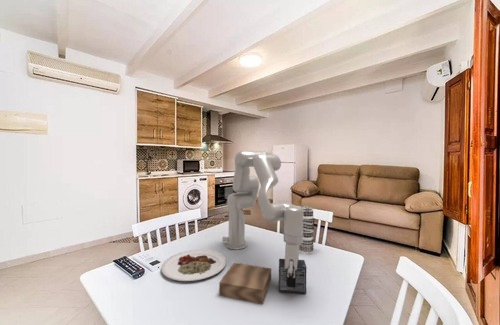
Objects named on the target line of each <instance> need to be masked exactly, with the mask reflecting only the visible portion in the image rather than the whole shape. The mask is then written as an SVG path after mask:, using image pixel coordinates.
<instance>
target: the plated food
mask: <svg viewBox="0 0 500 325" xmlns="http://www.w3.org/2000/svg"><path fill="white" fill-rule="evenodd" d="M226 264H227V259H226V257H225V256H224V254H222V253H221V252H218V251H215V250H211V249H190V250H186V251H182V252H179V253H176V254H174V255H171V256H170V257H168V258H167V259H166V260H164V262H163V263H162V265H161V268H160V271H161V273H162V275H164V276H165V277H167V278H168V279H171V280H174V281H179V282H191V281H192V282H194V281H200V280H203V279H204V280H205V279H208V278H211V277H213V276H215V275H216V274H219V272H221V271H222V270H223V269H224V268H225V267H226V266H227V265H226Z"/></svg>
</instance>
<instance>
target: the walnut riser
mask: <svg viewBox="0 0 500 325" xmlns="http://www.w3.org/2000/svg"><path fill="white" fill-rule="evenodd" d="M271 281H272V268H270V267H265V266H257V265H251V264H244V263H237V262H233V263H232V264H231V266H230V268H229V269H228V270H227V272H226V273H225V274H224V276H223V277H221V280H220V281H219V284H218V285H219V286H218V287H219V288H218V289H219V290H218V291H219V292H218V294H219V296H222V297H227V298H232V299H237V300H241V301H246V302H251V303H256V304H262V305H263V304H264V301H265V298H266V296H267V294H268V290H269V287H270V283H271Z"/></svg>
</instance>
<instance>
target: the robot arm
mask: <svg viewBox="0 0 500 325" xmlns="http://www.w3.org/2000/svg"><path fill="white" fill-rule="evenodd" d="M234 167H235V169H234V174H233V180H232V190H233V191H234V192H232V193H231V194H229V195H228V196H227V200H226V202H227V209H228V236H223V237H222V242H226V243H225V247H226V248H228V249H230V250H236V251H237V250H242V249H245V248H246V247H248V243H247V241H246V240H245V236H246V235H245V234H246V233H245V227H246V226H245V224H246V219H245V218H246V216H245V214H244V212H243V210H242V209H246V208H253V207H254V206H255V205H256V201H257V204H258V206H259V209H260V212H261V215H262V217H263V219H264V220H265V221H267V222H268V223H273V222H281V221H283V242H284V243H285V250H284V259H285V265H284V268H285V269H287V268H288V276H287V286H288V287H293V288H295V284H296V277H295V270H297V266H298V260H300V252H299V244H302V243H303V209H302V208H301V207H302V206H298V205H294V204H293V203H291V202H289V201H281V202H279V201H278V202H270V199H269V197H268V191H269V190H271V189H273V188H274V187H275V186H277V184H278V183H279V178H278V176H277V175H278V174H277V173H276V172H277V171H279V170H280V169H281V167H282V162H281V158H280V157H279V155H278V154H274V153H271V152H266V151H259V150H258V151H257V150H256V151H255V150H239V151H237V153H236V154H235V156H234ZM250 168H254V171H255V173H256V176H255V175H251V174H250V173H251V169H250ZM293 261H294V262H293ZM293 267H294V269H293ZM293 271H294V274H293Z"/></svg>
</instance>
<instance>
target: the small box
mask: <svg viewBox="0 0 500 325" xmlns="http://www.w3.org/2000/svg"><path fill="white" fill-rule="evenodd" d="M293 262H294V261H293ZM284 265H285V258H279V259H278V291H279V292H280V293H295V294H296V293H297V294H307V269H308V268H307V265H306V261H305V259H299V260H298V266H297V270H295V277H296V284H295V288H293V287H288V286H287V276H288V268H287V269H285V268H284ZM293 269H294V267H293ZM293 274H294V271H293Z"/></svg>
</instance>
